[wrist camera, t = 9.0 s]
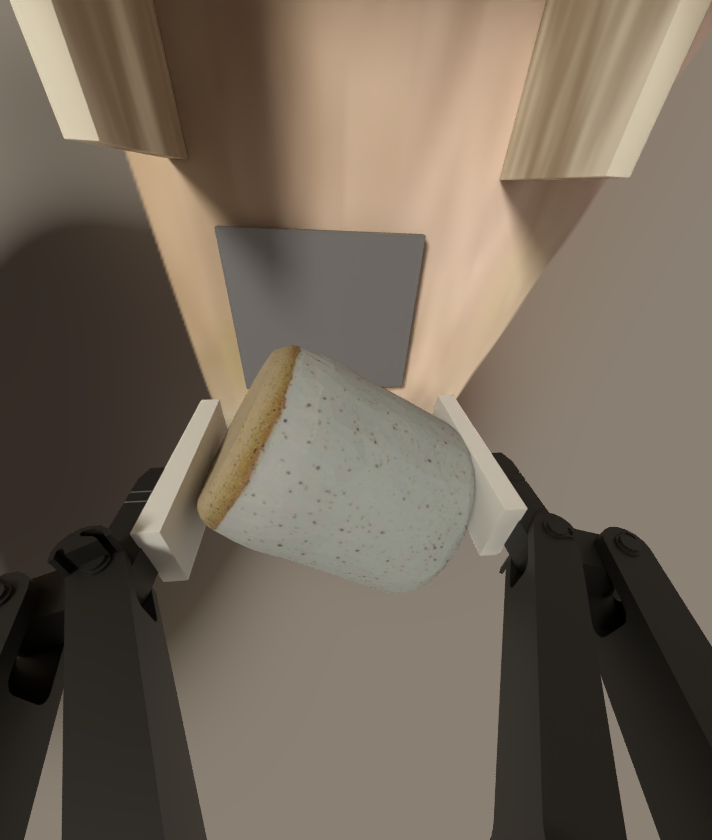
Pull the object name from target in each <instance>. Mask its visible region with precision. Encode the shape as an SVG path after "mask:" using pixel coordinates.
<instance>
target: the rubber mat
mask: <svg viewBox="0 0 712 840" xmlns="http://www.w3.org/2000/svg"><path fill="white" fill-rule="evenodd" d="M214 228H215V233H216V238H217V243H218V248H219V253H220V258H221V263H222V267H223V272H224V277H225V282H226V287H227V292H228V297H229V302H230V307H231V312H232V317H233V322H234V327H235V332H236V337H237V342H238V347H239V352H240V357H241V362H242V367H243V372H244V377H245V382H246V387H247V389H250V387H251V385H252V383H253V381H254V379H255V378H256V376H257V374H258V372H259V371H260V369H261V368H262V366H263V365H264V363H265V361H266V360H267V359H268V357H269V356H270V354H271V353H272V352H273V351H274V350H276V349H279V348H282V347H285V346H288V345H294V346H299V347H302V348H305V349H307V350H310V351H313V352H316V353H320V354H323V355H325V356H327V357H329V358H331V359H333V360H335V361H337V362H339V363H340V364H342V365H344V366H346V367H347V368H349V369H351V370H352V371H354V372H356V373H357V374H359V375H361V376H362V377H364V378H366V379H368V380H370V381H371V382H373V383H375V384H377V385H379V386H381V387H402V382H403V375H404V369H405V363H406V356H407V350H408V344H409V338H410V331H411V325H412V319H413V313H414V306H415V300H416V294H417V287H418V281H419V275H420V269H421V262H422V256H423V250H424V244H425V237H426V236H425V235H423V234H404V233H380V232H356V231H332V230H309V229H285V228H261V227H238V226H215V227H214Z"/></svg>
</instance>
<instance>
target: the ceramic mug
mask: <svg viewBox="0 0 712 840" xmlns="http://www.w3.org/2000/svg"><path fill="white" fill-rule="evenodd" d="M474 493H475V475H474V467H473V463H472V459H471V455H470V452H469V450H468V449H467V447H466V445H465V443H464V441H463V439H462V438H461V436H460V435H459V434H458V432H457V431H456V430H455V429H454V428H453V427H451V426H450V425H449V424H447V423H446V422H444V421H442V420H440V419H439V418H437V417H435V416H433V415H431V414H429V413H428V412H426V411H424V410H422V409H421V408H419V407H417V406H416V405H414V404H412V403H410V402H409V401H407V400H405V399H403V398H401V397H399V396H397V395H396V394H394V393H392V392H390V391H388V390H386V389H384V388H383V387H381V386H379V385H377V384H375V383H373V382H371V381H370V380H368V379H366V378H364V377H362V376H361V375H359V374H357V373H356V372H354V371H352V370H351V369H349V368H347V367H346V366H344V365H342V364H340V363H339V362H337V361H335V360H333V359H331V358H329V357H327V356H325V355H323V354H320V353H316V352H313V351H310V350H307V349H305V348H302V347H299V346H294V345H288V346H285V347H282V348H279V349H276V350H274V351H273V352H272V353H271V354H270V356H269V357H268V359H267V360H266V361H265V363H264V365H263V366H262V368H261V369H260V371H259V372H258V374H257V376H256V378H255V379H254V381H253V383H252V385H251V387H250V389H249V390H248V392H247V394H246V396H245V398H244V400H243V402H242V403H241V405H240V407H239V409H238V411H237V413H236V415H235V417H234V419H233V421H232V423H231V424H230V426H229V428H228V430H227V432H226V434H225V436H224V439H223V441H222V443H221V445H220V447H219V449H218V451H217V453H216V455H215V457H214V459H213V461H212V464H211V466H210V468H209V470H208V472H207V475H206V477H205V480H204V482H203V485H202V487H201V490H200V493H199V496H198V500H197V510H198V513H199V516H200V518H201V520H202V521H203V523H204V524H205V525H207V526H208V527H210V528H211V529H213V530H215V531H216V532H218V533H220V534H222V535H224V536H226V537H228V538H229V539H231V540H233V541H234V542H237V543H239V544H241V545H243V546H246V547H248V548H250V549H253V550H256V551H259V552H262V553H266V554H269V555H273V556H278V557H281V558H285V559H289V560H292V561H296V562H298V563H302V564H304V565H307V566H310V567H313V568H316V569H319V570H322V571H325V572H328V573H331V574H333V575H336V576H340V577H343V578H345V579H348V580H351V581H354V582H357V583H360V584H362V585H366V586H368V587H371V588H374V589H378V590H382V591H385V592H390V593H405V592H409V591H412V590H414V589H417V588H419V587H421V586H423V585H425V584H427V583H429V582H430V581H431V580H432V579H433V578H434V577H436V576H437V575H438V574H439V573H440V572H441V571H442V570H443V569H444V568H445V566H446V565H447V563H448V562H449V561H450V560H451V558H452V557H453V556H454V554H455V553H456V551H457V549H458V548H459V546H460V544H461V542H462V540H463V537H464V535H465V532H466V530H467V527H468V523H469V520H470V516H471V512H472V507H473V501H474Z"/></svg>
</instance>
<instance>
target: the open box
mask: <svg viewBox="0 0 712 840" xmlns="http://www.w3.org/2000/svg"><path fill="white" fill-rule="evenodd" d="M711 1H712V0H547V1H546V5H545V9H544V12H543V16H542V20H541V24H540V28H539V31H538V35H537V39H536V43H535V47H534V51H533V54H532V58H531V62H530V66H529V70H528V74H527V77H526V81H525V85H524V89H523V93H522V96H521V100H520V104H519V108H518V112H517V116H516V119H515V123H514V127H513V131H512V135H511V139H510V142H509V146H508V150H507V154H506V158H505V162H504V165H503V169H502V173H501V177H500V180H510V181H528V180H565V179H601V178H629V177H630V176H631V173H632V171H633V169H634V167H635V165H636V163H637V160H638V158H639V156H640V154H641V152H642V150H643V147H644V145H645V143H646V141H647V139H648V137H649V135H650V132H651V130H652V128H653V126H654V124H655V122H656V119H657V117H658V115H659V113H660V111H661V109H662V106H663V104H664V102H665V100H666V98H667V96H668V93H669V91H670V89H671V87H672V85H673V83H674V81H675V78H676V76H677V74H678V72H679V70H680V68H681V65H682V63H683V61H684V59H685V57H686V55H687V52H688V50H689V48H690V46H691V44H692V42H693V40H694V37H695V35H696V33H697V31H698V29H699V27H700V24H701V22H702V20H703V18H704V16H705V14H706V11H707V9H708V7H709V5H710V3H711ZM10 2H11V5H12V8H13V10H14V12H15V15H16V18H17V20H18V23H19V25H20V28H21V30H22V32H23V35H24V38H25V40H26V43H27V45H28V48H29V51H30V53H31V56H32V58H33V60H34V63H35V66H36V68H37V71H38V73H39V76H40V78H41V81H42V83H43V86H44V88H45V91H46V94H47V96H48V99H49V101H50V104H51V106H52V109H53V111H54V114H55V116H56V119H57V121H58V124H59V126H60V129H61V131H62V134H63V136H64V139H69V140H74V141H80V142H84V143H90V144H95V145H100V146H106V147H111V148H116V149H121V150H127V151H132V152H137V153H142V154H148V155H153V156H158V157H163V158H170V159H186V160H188V157H187V152H186V148H185V143H184V139H183V134H182V130H181V125H180V121H179V116H178V112H177V107H176V102H175V98H174V93H173V89H172V84H171V80H170V75H169V71H168V66H167V62H166V57H165V52H164V48H163V43H162V39H161V34H160V30H159V25H158V21H157V16H156V12H155V7H154V2H153V0H10Z"/></svg>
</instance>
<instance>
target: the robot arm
mask: <svg viewBox="0 0 712 840" xmlns="http://www.w3.org/2000/svg"><path fill="white" fill-rule="evenodd" d="M433 416H435V417H437V418H439V419H440V420H442V421H444V422H446V423H447V424H449V425H450V426H451V427H453V428H454V429H455V430H456V431H457V432H458V434H459V435H460V436H461V438H462V439H463V441H464V443H465V445H466V447H467V449H468V450H469V452H470V455H471V459H472V463H473V467H474V475H475V493H474V501H473V507H472V512H471V516H470V520H469V523H468V527H467V529H468V531H469V534H470V536H471V538H472V540H473V542H474V545H475V547H476V550H477V552H478V554H479V556H486V555H498V554H499V553H500V552H501V550H502V549H503V547H504V545H505V547H506V549H507V551H508V553H509V556H508V558H507V559H506V561H505V562H504V564H503V566H501V569H500V573H501V574H502V573H503V572H504V571H505V569H506V577H505V578H506V579H505V599H504V619H503V620H504V621H503V642H502V661H501V682H500V704H499V724H498V745H497V765H496V787H495V809H494V824H493V831H492V836H491V838H490V840H627V837H626V831H625V825H624V819H623V812H622V806H621V800H620V794H619V787H618V781H617V775H616V769H615V762H614V756H613V750H612V744H611V738H610V731H609V725H608V719H607V713H606V707H605V700H604V694H603V688H602V682H601V677H602V680H603V683H604V685H605V688H606V691H607V694H608V697H609V699H610V702H611V705H612V708H613V710H614V713H615V716H616V719H617V721H618V724H619V727H620V729H621V732H622V735H623V738H624V741H625V743H626V746H627V749H628V752H629V754H630V757H631V760H632V763H633V765H634V768H635V770H636V774H637V776H638V779H639V781H640V785H641V787H642V790H643V793H644V795H645V798H646V801H647V803H648V806H649V809H650V812H651V814H652V817H653V820H654V823H655V826H656V828H657V831H658V834H659V837H660V839H661V840H712V646H711V645H710V643H709V641H708V640H707V638H706V637H705V635H704V634H703V632H702V630H701V629H700V627H699V626H698V624H697V622H696V621H695V619H694V618H693V616H692V615H691V613H690V612H689V610H688V609H687V607H686V605H685V603H684V602H683V600H682V599H681V597H680V596H679V594H678V592H677V591H676V589H675V588H674V586H673V585H672V583H671V581H670V580H669V578H668V577H667V575H666V573H665V572H664V570H663V569H662V567H661V565H660V564H659V563H658V561H657V559H656V558H655V556H654V554H653V553H652V551H651V550H650V548H649V547H648V546H647V545H646V544H645V542H644V541H642V540H641V539H640V538H639V537H637V536H636V535H635V534H633V533H631V532H629V531H627V530H625V529H622V528H618V527H609V528H607V529H605V530H604V531H603V532H602V533H601V534H595V533H591V532H586V531H581V530H577V529H574V528H573V527H572V526H571V525H570V523H568V522H567V521H566V520H564V519H563V518H561V517H559V516H557V515H555V514H551V513H549V512H548V511H547V509H546V508H545V506H544V505H543V504H542V502H541V501H540V499H539V498H538V497H537V495H536V494H535V493H534V491H533V490H532V488H531V487H530V486H529V484H528V483H527V482H526V481H525V478H524V477H523V476H522V474H521V473H519V470H518V469H517V467H516V466H515V465H514V463H513V462H512V461H511V460H510V459H509V458H507V457H506V456H505V455H504V454H502V453H491V452H490V451H489V449H488V448H487V446H486V445H485V443H484V442H483V440H482V439H481V437H480V435H479V434H478V433H477V431H476V430H475V428H474V426H473V425H472V423H471V422H470V420H469V419H468V417H467V416H466V414H465V413H464V411H463V410H462V408H461V407H460V405H459V404H458V402H457V401H456V399H455V397H454V396H453V395H438V397H437V401H436V405H435V409H434V413H433ZM226 432H227V426H226V422H225V419H224V415H223V411H222V408H221V404H220V400H201V402H200V404H199V405H198V407H197V409H196V411H195V413H194V415H193V417H192V419H191V420H190V422H189V424H188V426H187V428H186V430H185V432H184V434H183V436H182V437H181V439H180V441H179V443H178V445H177V447H176V448H175V450H174V452H173V454H172V456H171V458H170V460H169V462H168V464H167V465H166V467H165V468H150V469H149V470H148V471H147V472H146V473H144V474H143V475H142V476H141V477H140V478H139V479H138V480H137V482H136V483H135V485H134V487H133V488H132V490H131V493H130V494H129V495H128V497H127V498H126V500H125V503H124V504H123V505H122V507H121V508H120V510H119V511H118V513H117V515H116V516H115V518H114V520H113V521H112V523H111V525H110V526H109V528H105V527H103V526H101V525H98V526H97V525H96V526H88V527H85V528H81V529H79V530H77V531H75V532H73V533H71V534H69V535H67V536H66V537H65V538H64V539H62V540H61V541H60V542H59V543H58V544H57V545H56V546H55V547H54V549H53V550H52V551H51V552H50V555H49V558H48V561H47V562H48V563H49V564H51V565H52V566H53V567H54V568H55V569H56V570H57V571H54V572H51V573H48V574H45V575H42V576H39V577H36V578H33V579H31V578H30V577H29V576H28V575H26V574H24V573H20V572H12V573H6V574H3V575H1V576H0V840H24V837H25V833H26V829H27V825H28V822H29V818H30V814H31V810H32V806H33V803H34V798H35V795H36V791H37V787H38V783H39V779H40V776H41V772H42V768H43V764H44V760H45V756H46V753H47V749H48V745H49V741H50V737H51V734H52V730H53V726H54V722H55V718H56V715H57V711H58V707H59V702H60V699H61V695H62V692H63V688H64V697H63V699H64V700H63V704H64V705H63V779H62V780H63V781H62V783H63V784H62V840H207V838H206V833H205V828H204V823H203V819H202V814H201V809H200V804H199V799H198V794H197V789H196V784H195V780H194V775H193V770H192V765H191V760H190V755H189V750H188V745H187V741H186V736H185V731H184V727H183V721H182V716H181V711H180V707H179V702H178V697H177V692H176V687H175V682H174V677H173V672H172V668H171V663H170V659H169V653H168V649H167V643H166V638H165V634H164V629H163V624H162V619H161V614H160V609H159V605H158V600H157V594H156V591H155V589H154V587H153V584H154V581H155V579H156V576H157V574H158V575H159V576H160V577H161V579H162V580H163V581H164V582H167V581H180V580H188V579H189V576H190V573H191V570H192V566H193V563H194V560H195V557H196V554H197V551H198V548H199V545H200V542H201V539H202V535H203V533H204V529H205V526H206V525H205V524H204V523H203V521H202V520H201V518H200V516H199V513H198V510H197V500H198V496H199V493H200V490H201V487H202V485H203V482H204V480H205V477H206V475H207V472H208V470H209V468H210V466H211V464H212V461H213V459H214V457H215V455H216V453H217V451H218V449H219V447H220V445H221V443H222V441H223V439H224V436H225V434H226ZM600 675H601V676H600Z"/></svg>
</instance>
